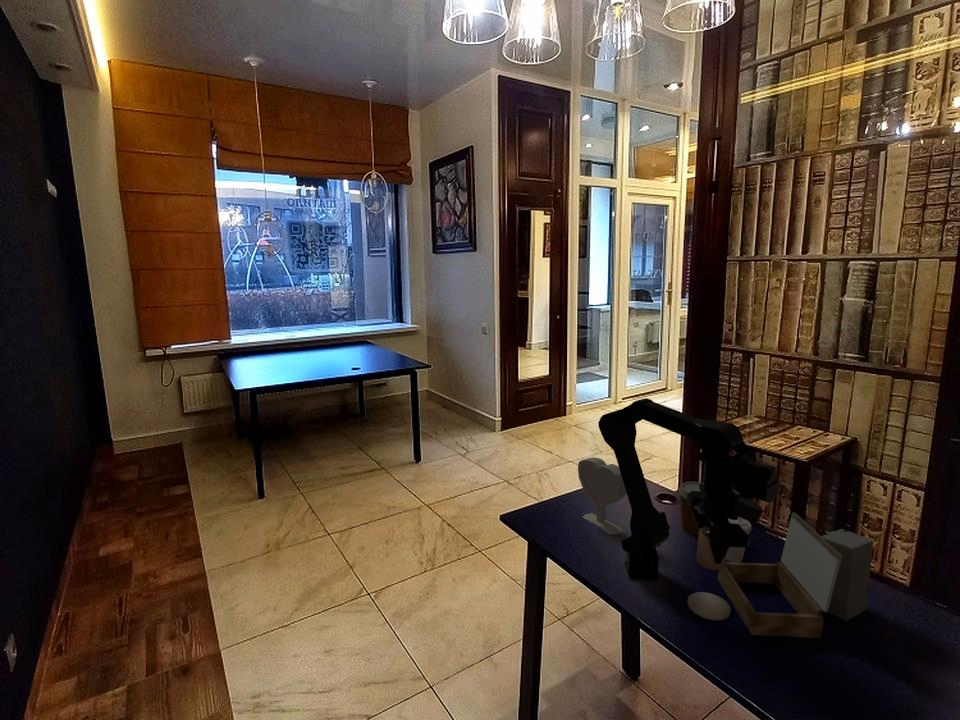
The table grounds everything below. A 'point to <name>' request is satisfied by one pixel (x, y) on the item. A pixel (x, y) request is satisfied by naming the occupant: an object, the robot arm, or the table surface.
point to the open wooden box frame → (772, 623)
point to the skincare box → (850, 573)
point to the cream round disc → (709, 606)
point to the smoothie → (737, 552)
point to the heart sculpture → (601, 489)
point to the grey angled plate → (811, 561)
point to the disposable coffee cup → (687, 516)
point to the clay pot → (707, 551)
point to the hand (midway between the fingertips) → (712, 554)
